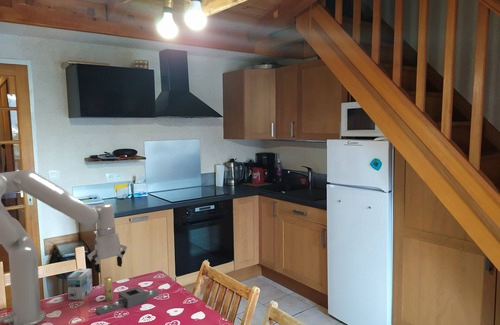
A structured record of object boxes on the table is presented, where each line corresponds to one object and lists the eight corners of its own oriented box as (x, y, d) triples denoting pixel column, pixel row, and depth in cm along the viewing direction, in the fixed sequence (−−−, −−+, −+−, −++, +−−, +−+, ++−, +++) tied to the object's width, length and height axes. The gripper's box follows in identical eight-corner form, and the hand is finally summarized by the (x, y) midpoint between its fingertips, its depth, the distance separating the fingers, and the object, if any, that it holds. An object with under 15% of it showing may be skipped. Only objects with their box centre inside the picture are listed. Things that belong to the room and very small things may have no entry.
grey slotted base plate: (102, 316, 151) (101, 307, 151) (93, 309, 157) (93, 300, 157) (161, 296, 169) (161, 287, 169) (151, 290, 176) (151, 282, 176)
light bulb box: (82, 300, 167) (81, 276, 166) (67, 300, 167) (66, 276, 167) (93, 290, 178) (92, 268, 177) (79, 290, 178) (78, 268, 177)
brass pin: (107, 302, 164) (105, 280, 163) (104, 300, 167) (103, 278, 166) (114, 300, 166) (113, 278, 166) (111, 297, 169) (110, 276, 168)
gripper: (89, 237, 156) (92, 277, 157) (128, 228, 167) (131, 265, 169) (82, 234, 161) (86, 272, 163) (121, 226, 173) (123, 261, 174)
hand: (109, 269), depth 166 cm, fingers open, 9 cm apart
